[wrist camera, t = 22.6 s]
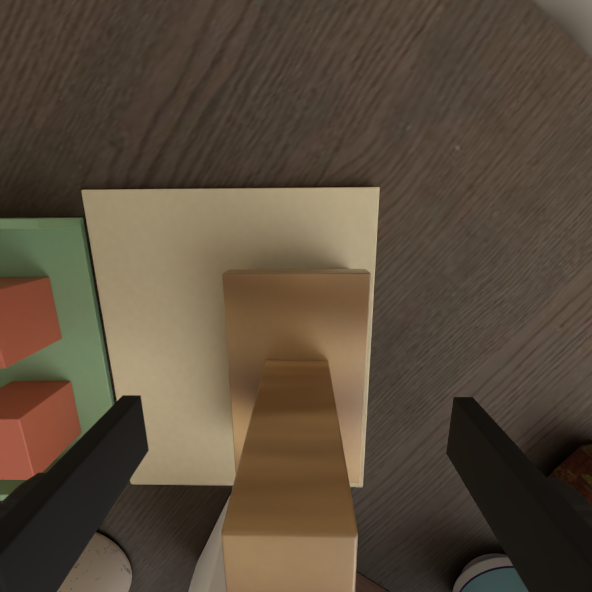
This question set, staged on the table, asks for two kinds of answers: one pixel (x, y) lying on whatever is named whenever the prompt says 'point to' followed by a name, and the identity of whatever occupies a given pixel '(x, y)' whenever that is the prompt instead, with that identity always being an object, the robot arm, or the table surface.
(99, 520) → the robot arm
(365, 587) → the tissue box cover
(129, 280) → the mat
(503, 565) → the beverage can
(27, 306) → the cube
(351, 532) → the brush
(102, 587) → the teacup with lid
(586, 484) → the toy car
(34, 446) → the cube
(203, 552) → the container
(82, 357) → the dustpan
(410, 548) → the table surface
